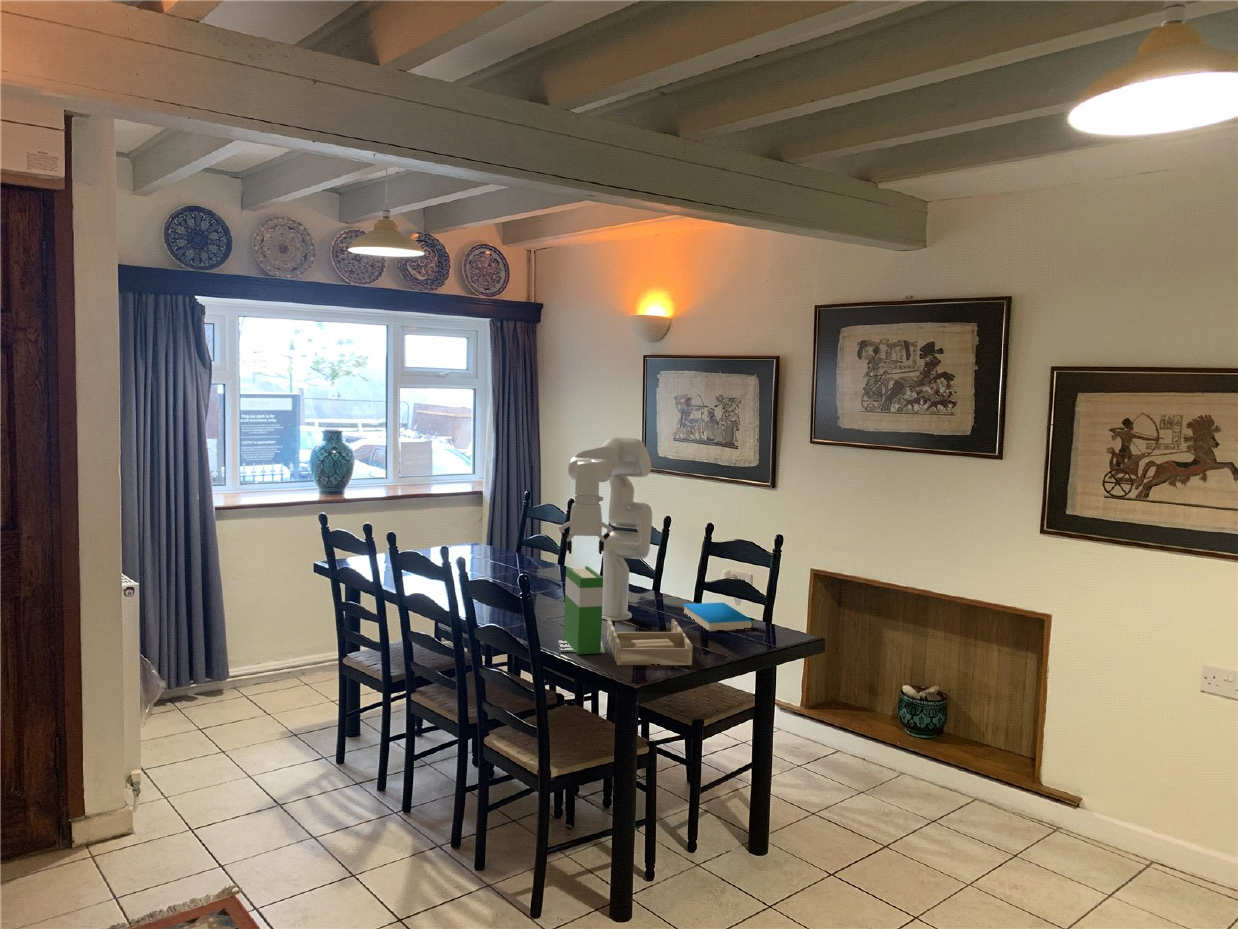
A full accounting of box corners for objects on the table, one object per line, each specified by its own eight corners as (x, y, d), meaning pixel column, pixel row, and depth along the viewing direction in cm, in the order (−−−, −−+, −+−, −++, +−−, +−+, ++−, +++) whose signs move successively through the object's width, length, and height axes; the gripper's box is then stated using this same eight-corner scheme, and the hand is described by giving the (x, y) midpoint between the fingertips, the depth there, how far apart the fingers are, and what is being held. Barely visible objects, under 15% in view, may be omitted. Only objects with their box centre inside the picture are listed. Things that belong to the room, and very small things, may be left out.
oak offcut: (630, 649, 282) (631, 640, 281) (667, 648, 285) (667, 639, 285) (636, 655, 276) (637, 645, 276) (673, 654, 279) (674, 644, 279)
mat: (558, 641, 296) (558, 640, 296) (601, 642, 297) (601, 640, 297) (560, 653, 284) (560, 651, 284) (604, 653, 285) (604, 651, 285)
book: (709, 621, 315) (682, 603, 339) (708, 633, 315) (682, 614, 339) (753, 619, 320) (724, 601, 344) (753, 631, 321) (724, 612, 344)
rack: (606, 636, 304) (607, 615, 304) (673, 636, 307) (674, 616, 307) (617, 665, 274) (618, 642, 273) (691, 665, 277) (692, 642, 276)
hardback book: (563, 638, 298) (566, 566, 296) (585, 637, 300) (587, 566, 298) (577, 654, 281) (580, 578, 279) (600, 653, 283) (603, 577, 281)
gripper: (612, 498, 291) (610, 551, 293) (558, 497, 289) (557, 550, 291) (615, 502, 284) (613, 555, 285) (560, 501, 282) (558, 555, 283)
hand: (585, 553), depth 288 cm, fingers open, 9 cm apart
